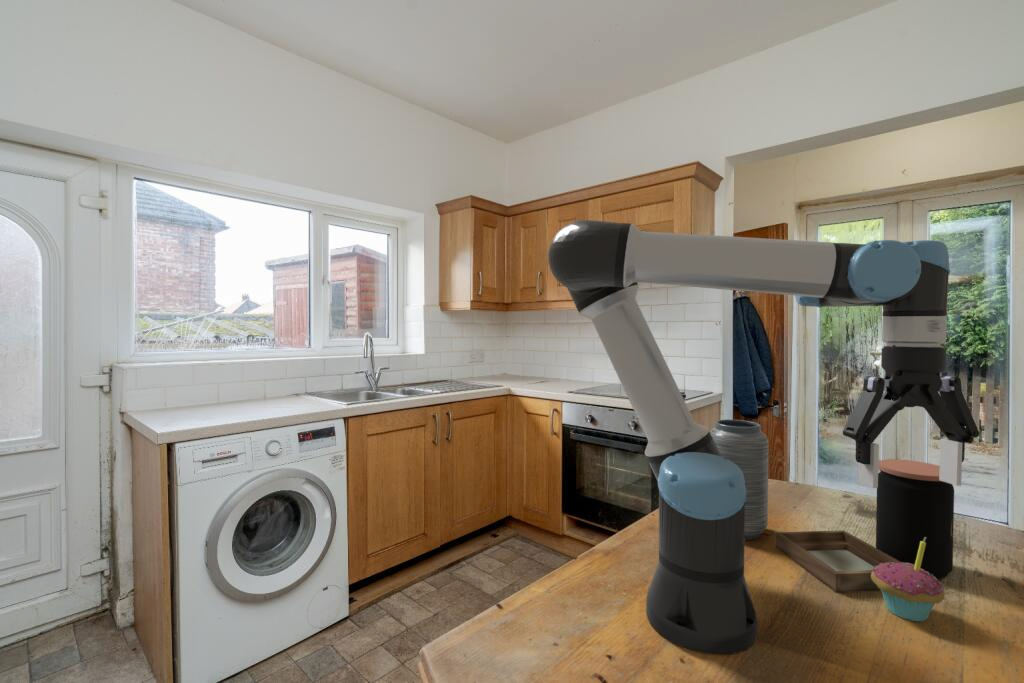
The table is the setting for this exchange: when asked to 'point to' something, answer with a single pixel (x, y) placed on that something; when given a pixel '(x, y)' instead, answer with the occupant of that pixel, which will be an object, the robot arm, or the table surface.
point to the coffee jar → (915, 514)
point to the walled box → (834, 558)
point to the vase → (747, 467)
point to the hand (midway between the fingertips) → (909, 484)
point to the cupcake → (908, 587)
